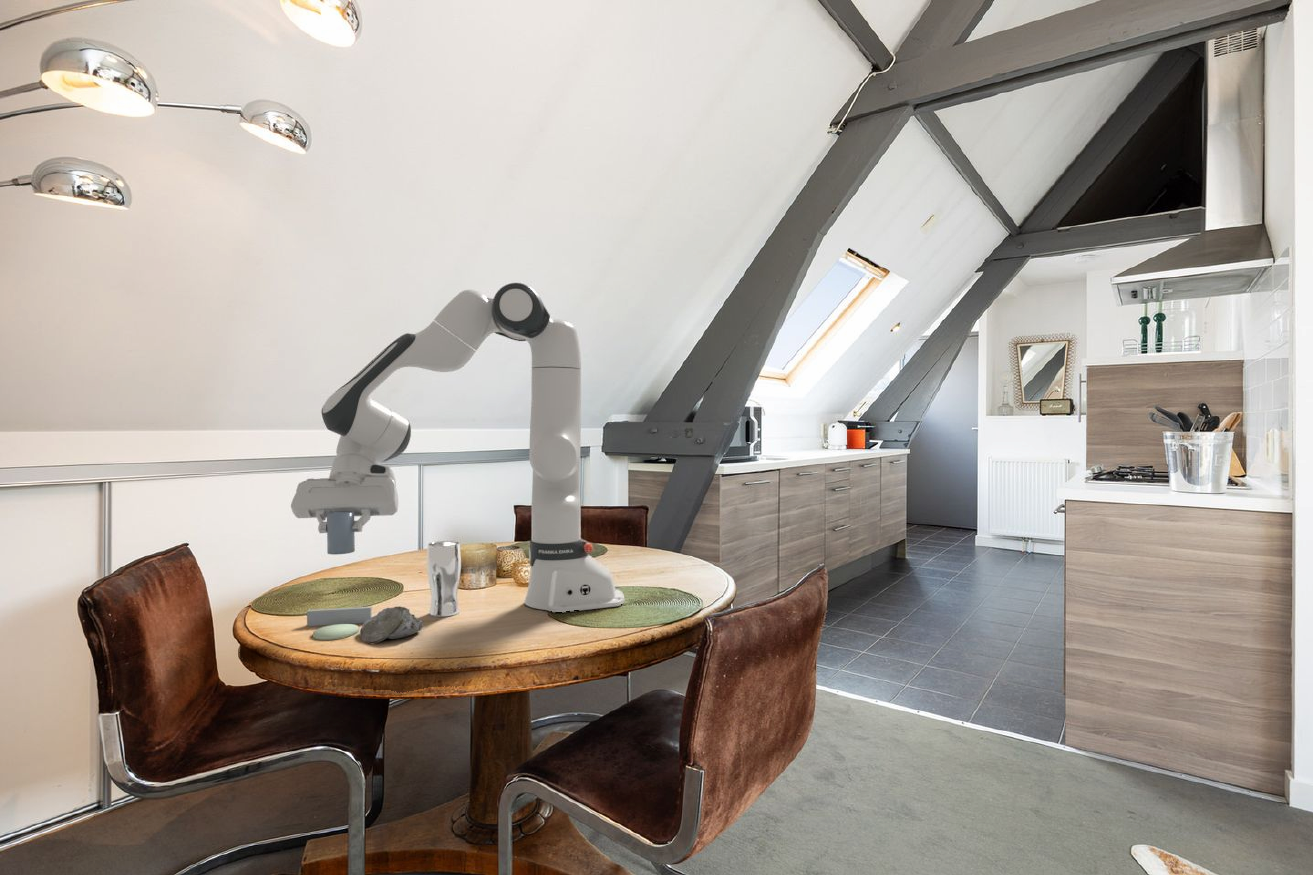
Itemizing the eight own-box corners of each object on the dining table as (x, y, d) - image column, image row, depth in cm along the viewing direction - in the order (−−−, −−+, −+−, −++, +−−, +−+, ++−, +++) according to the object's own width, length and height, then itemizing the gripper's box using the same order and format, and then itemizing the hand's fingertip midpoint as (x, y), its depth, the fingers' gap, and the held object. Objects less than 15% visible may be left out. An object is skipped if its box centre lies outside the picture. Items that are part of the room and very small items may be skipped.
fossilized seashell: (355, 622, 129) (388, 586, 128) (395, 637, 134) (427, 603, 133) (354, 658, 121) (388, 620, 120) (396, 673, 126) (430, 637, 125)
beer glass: (451, 618, 137) (450, 547, 137) (420, 616, 139) (420, 545, 139) (467, 609, 144) (466, 541, 144) (438, 607, 146) (437, 540, 145)
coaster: (363, 625, 133) (363, 622, 133) (353, 638, 125) (353, 635, 125) (320, 628, 131) (320, 625, 131) (307, 641, 123) (307, 638, 123)
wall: (371, 621, 136) (371, 606, 136) (370, 622, 135) (370, 607, 135) (308, 624, 134) (308, 609, 133) (307, 626, 133) (306, 611, 132)
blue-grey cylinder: (357, 549, 136) (356, 510, 136) (351, 553, 131) (350, 513, 131) (331, 550, 135) (330, 511, 135) (324, 554, 131) (323, 514, 130)
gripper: (295, 469, 138) (279, 523, 129) (399, 467, 142) (390, 519, 132) (303, 488, 142) (288, 542, 133) (403, 486, 146) (395, 537, 137)
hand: (339, 530), depth 133 cm, fingers closed on blue-grey cylinder, 5 cm apart
